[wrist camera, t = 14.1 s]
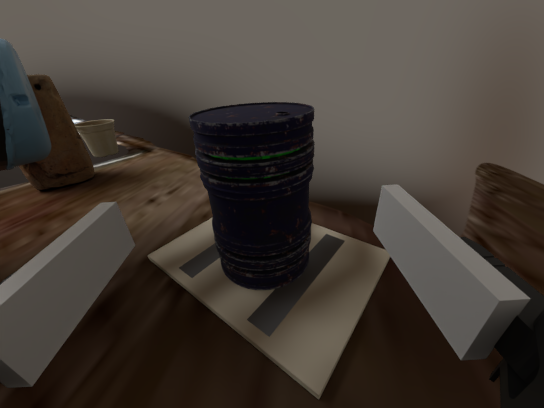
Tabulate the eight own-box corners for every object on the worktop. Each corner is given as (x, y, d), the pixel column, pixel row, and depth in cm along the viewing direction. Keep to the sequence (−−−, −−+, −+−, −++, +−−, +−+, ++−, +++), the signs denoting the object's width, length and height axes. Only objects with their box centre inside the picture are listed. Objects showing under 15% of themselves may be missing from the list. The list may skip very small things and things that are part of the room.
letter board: (149, 259, 27) (147, 255, 27) (245, 202, 38) (244, 198, 37) (318, 399, 15) (319, 395, 15) (390, 256, 25) (391, 252, 25)
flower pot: (127, 147, 72) (116, 117, 67) (123, 155, 64) (110, 123, 60) (91, 152, 69) (78, 121, 64) (83, 162, 61) (66, 128, 57)
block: (94, 170, 55) (50, 72, 45) (100, 179, 50) (51, 71, 40) (34, 185, 49) (-33, 76, 39) (33, 197, 44) (-44, 75, 34)
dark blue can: (200, 264, 25) (159, 118, 18) (258, 220, 32) (246, 101, 24) (276, 310, 20) (263, 129, 12) (326, 245, 27) (337, 103, 19)
